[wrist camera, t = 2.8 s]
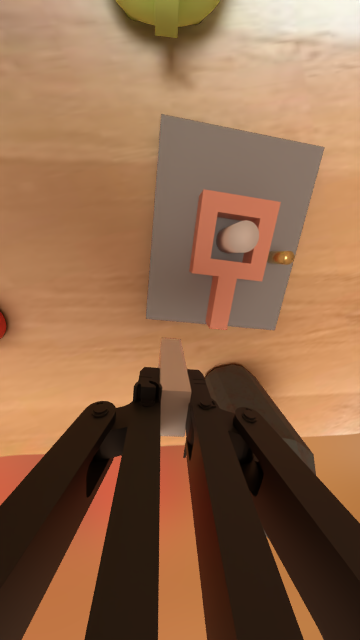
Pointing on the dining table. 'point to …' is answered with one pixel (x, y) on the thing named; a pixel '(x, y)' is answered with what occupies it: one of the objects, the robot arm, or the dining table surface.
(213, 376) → the bottle
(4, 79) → the dining table surface
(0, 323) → the beer can
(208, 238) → the square nut
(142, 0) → the teapot
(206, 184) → the board
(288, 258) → the gold metal capsule
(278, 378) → the dining table surface
